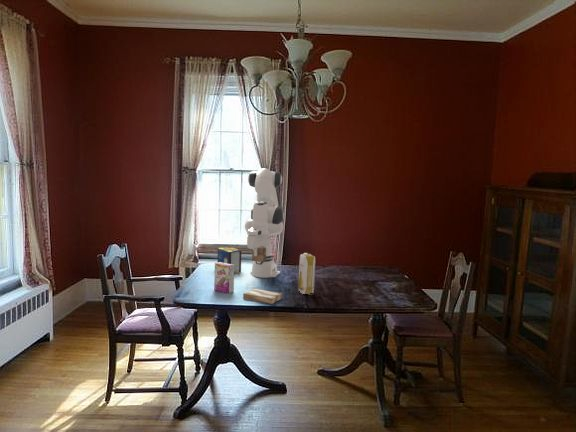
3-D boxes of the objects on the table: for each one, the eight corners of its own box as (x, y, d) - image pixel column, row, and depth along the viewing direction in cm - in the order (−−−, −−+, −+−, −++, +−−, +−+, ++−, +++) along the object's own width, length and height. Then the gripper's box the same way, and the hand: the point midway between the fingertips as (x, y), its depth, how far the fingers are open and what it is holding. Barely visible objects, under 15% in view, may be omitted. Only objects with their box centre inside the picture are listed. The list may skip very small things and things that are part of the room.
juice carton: (296, 291, 256) (298, 251, 254) (308, 290, 259) (310, 251, 257) (302, 295, 248) (304, 254, 245) (315, 294, 251) (317, 254, 248)
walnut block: (256, 259, 243) (256, 245, 242) (265, 260, 240) (266, 246, 239) (251, 260, 238) (252, 246, 238) (261, 261, 236) (261, 247, 235)
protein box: (229, 267, 310) (230, 246, 308) (241, 272, 298) (241, 250, 297) (216, 269, 303) (217, 247, 302) (228, 274, 292) (228, 251, 290)
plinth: (254, 293, 248) (254, 288, 248) (281, 298, 240) (281, 293, 240) (243, 298, 237) (243, 293, 237) (271, 304, 230) (271, 298, 229)
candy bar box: (213, 290, 251) (214, 263, 249) (219, 288, 255) (219, 261, 253) (228, 293, 245) (229, 265, 243) (234, 292, 250) (234, 264, 248)
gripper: (264, 228, 248) (263, 251, 250) (245, 231, 230) (244, 257, 231) (273, 229, 246) (272, 253, 247) (255, 232, 227) (254, 258, 229)
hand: (259, 255), depth 239 cm, fingers closed on walnut block, 5 cm apart
